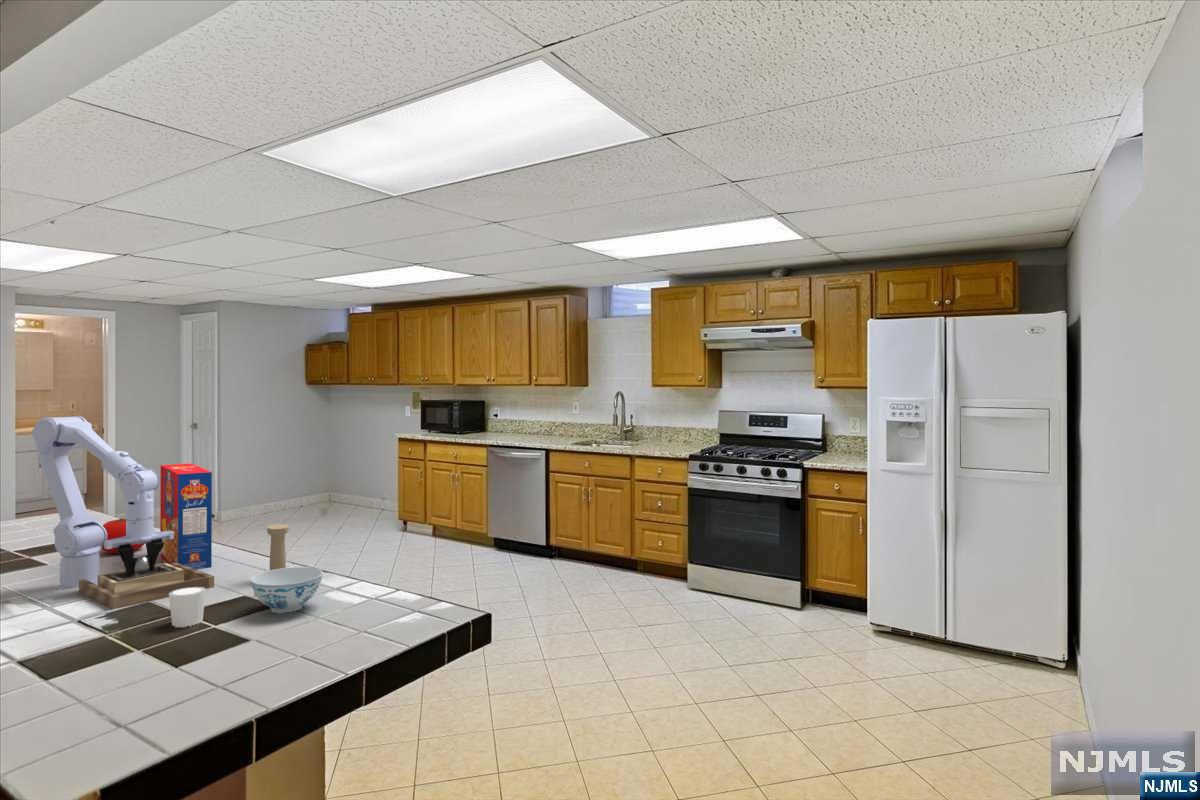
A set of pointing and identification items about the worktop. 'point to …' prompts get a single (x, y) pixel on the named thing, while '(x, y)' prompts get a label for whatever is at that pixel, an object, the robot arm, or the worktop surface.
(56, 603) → the worktop surface
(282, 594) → the chinaware
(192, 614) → the white cylinder
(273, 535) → the handle
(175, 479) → the pasta box
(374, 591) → the worktop surface
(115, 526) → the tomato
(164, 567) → the crate
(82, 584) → the bay
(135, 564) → the peg
